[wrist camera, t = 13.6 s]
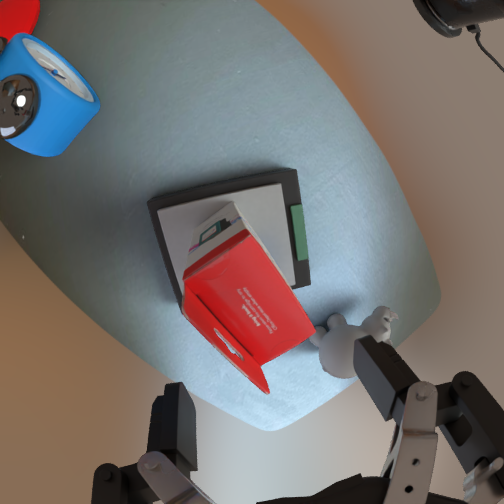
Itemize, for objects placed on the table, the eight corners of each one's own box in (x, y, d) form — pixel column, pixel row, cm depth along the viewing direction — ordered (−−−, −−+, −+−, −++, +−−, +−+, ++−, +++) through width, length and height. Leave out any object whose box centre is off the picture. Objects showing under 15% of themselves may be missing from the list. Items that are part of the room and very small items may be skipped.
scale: (289, 168, 28) (299, 169, 25) (304, 276, 33) (313, 288, 30) (151, 198, 27) (144, 203, 24) (183, 304, 32) (181, 318, 29)
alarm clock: (118, 116, 23) (42, 90, 9) (80, 157, 24) (-10, 170, 10) (63, 52, 19) (-9, 12, 5) (29, 91, 19) (-52, 75, 5)
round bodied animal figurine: (384, 314, 38) (415, 346, 30) (319, 357, 38) (340, 397, 30) (372, 280, 35) (407, 311, 27) (299, 328, 36) (321, 370, 28)
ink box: (279, 265, 28) (337, 361, 15) (240, 292, 29) (267, 401, 15) (232, 198, 25) (261, 252, 12) (190, 228, 26) (171, 313, 12)
